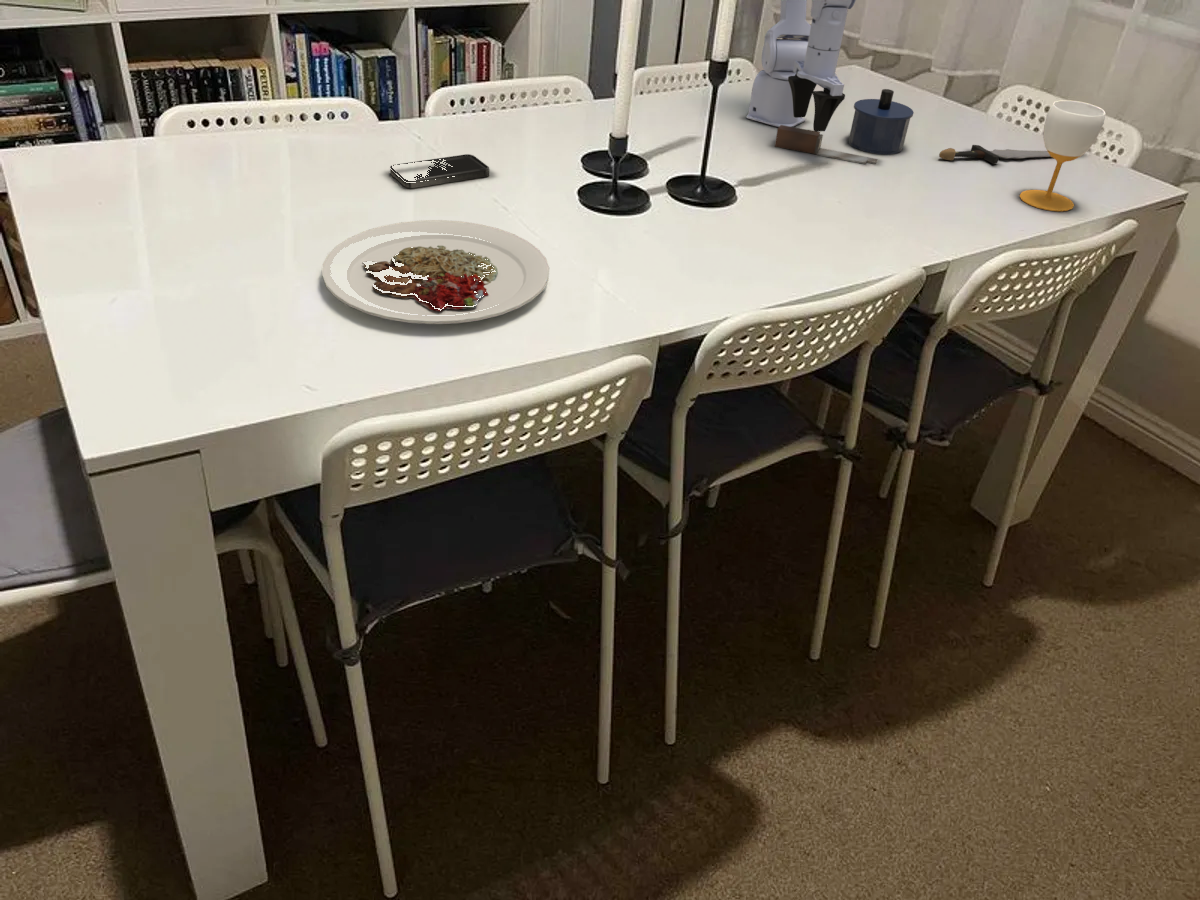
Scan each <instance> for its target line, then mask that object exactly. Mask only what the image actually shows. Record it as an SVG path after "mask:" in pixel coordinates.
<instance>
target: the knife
mask: <svg viewBox="0 0 1200 900" xmlns="http://www.w3.org/2000/svg"><path fill="white" fill-rule="evenodd" d="M823 137H824V134H821V131H819V132H815V131H814V130H811V129H806V128H800V127H795V126H794V127H790V126H784V125H780V127H777V130H776V137H775V143H774V147H775V148H780V149H786V150H791V151H797V152H800V153H805V154H812V155H816V156H819V157H825V158H829V159H834V160H835V159H836V160H841V161H847V162H851V163H855V164H862V165H867V163H868V164H873V165H877V162H878V158H873V157H869V156H864V155H859V154H853V153H848V152H844V151H843V152H842V151H837V150H832V149H827V148H822V147H821V146H822V143H823Z"/></svg>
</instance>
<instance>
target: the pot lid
mask: <svg viewBox="0 0 1200 900" xmlns="http://www.w3.org/2000/svg"><path fill="white" fill-rule="evenodd" d="M894 93H895V91H894V90H893V89H889V88H883V89H882V90H881V92H880V98H864V99H859V100H857V101H855V102H854V105H853V108H854V111H855V110H856V111H857V112H859V113H861V114H863V115H866V116H869V117H873V118H877V119H883V120H906V119H909V118H910V119H911V118H913V116H914V114H915V113H914V110H913V108H911V107H909V106H907V105H905V104H903V103H900V102H897V101H893V98H894Z"/></svg>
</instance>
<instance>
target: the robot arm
mask: <svg viewBox="0 0 1200 900" xmlns="http://www.w3.org/2000/svg"><path fill="white" fill-rule="evenodd" d="M856 1H857V0H811V7H810V17H811V18H812V19H811V24H810V23H809V22H808V21H807V7H808V6H807V5H808V0H780V12H779V16H780V17H779V21H777V22H776V23H775V24H773V25H772V26H771V27H769V29H768V30H767V31H766V33H765V35H764V39H763V40H764V41H763V45H762V50H761V66H762V70H760V71H758V73H757V74H756V76H755V78H754V80H753V83H752V87H751V88H752V89H751V94H750V100H749V107H748V114H747V115H745V118H746V119H748V120H751V121H755V122H759V123H762V124H765V125H768V126H772V127H775V128H779V127H780V125H784V126H790V127H795V126H798V125H800V124H802V123H804V122H806V118H805V117H806V115H807V113H808V110H809V106H810V103H811V100H812V98H813V102H814V114H813V115H814V116H813V123H812V126H813V127H812V130H813V131H815V132H825V131H826V129H827V128H828V126H829V124H830V121H831V119H832V117H833V115H834V113H835V112H836V111H837V109H838V107H839V106H840V105H841V104H842V102H843V101H845V98H846V94H845V93H844V87H845V84H844V83H843V82H842V81H841V80H840V78H839V77H838V75H837V73H836V70H837V67H838V63H839V61H838V60H839V57H840V52H841V46H842V41H843V37H844V32H845V27H846V22H847V16H848V11H849V10H851V9H852V8H853V7H854V6H855V4H856ZM817 86H818V87H821V88H822V89H823V90H815V89H816V87H817Z"/></svg>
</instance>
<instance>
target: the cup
mask: <svg viewBox="0 0 1200 900" xmlns="http://www.w3.org/2000/svg"><path fill="white" fill-rule="evenodd" d="M1106 114H1107V112H1106V111H1105V110H1104V108H1101V107H1099V106H1098V105H1095V104H1094V105H1093V104H1091V103H1087V102H1083V101H1078V100H1070V99H1061V100H1055V101H1053V103H1052V104H1051V106H1050V108H1049V110H1048V111H1047V114H1046V117H1045V120H1044V125H1043V134H1042V135H1043V137H1042V138H1043V143H1044V148H1045V150H1046V151H1048V153H1049V154H1050V156H1051V157H1050V158H1052V159H1054V160H1055V161H1056V165H1055V168H1054V170H1053V173H1052V176H1051V179H1050V182H1049V185H1048V188H1047V189H1046V190H1042V189H1027V190H1023V191H1021V193H1020V194H1019V198H1020V200H1021V202H1024V203H1025V204H1026V205H1029V206H1031V207H1033V208H1036V209H1040V210H1043V211H1050V212H1068V211H1070V210H1073V208H1074V206H1075V204H1074V202H1073V201H1072V199H1070V198H1069V197H1066V196H1064V195H1062V194H1060V193H1058V192H1053V191H1054V188H1055V185H1056V182H1057V180H1058V176H1059V174H1060V171H1061V169H1062V166H1063V164H1064V163H1066V162H1071V161H1075V160H1077V159H1078V158H1081V157H1082V156H1084V155H1085V154H1086V153H1087V152H1088V151H1089V150H1090V149H1091V147H1092V146H1093V145H1094V143H1095V141H1096V140H1097V138H1098V137H1099V135H1100V132H1101V131H1102V128H1103V126H1104V125H1105V119H1106Z"/></svg>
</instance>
